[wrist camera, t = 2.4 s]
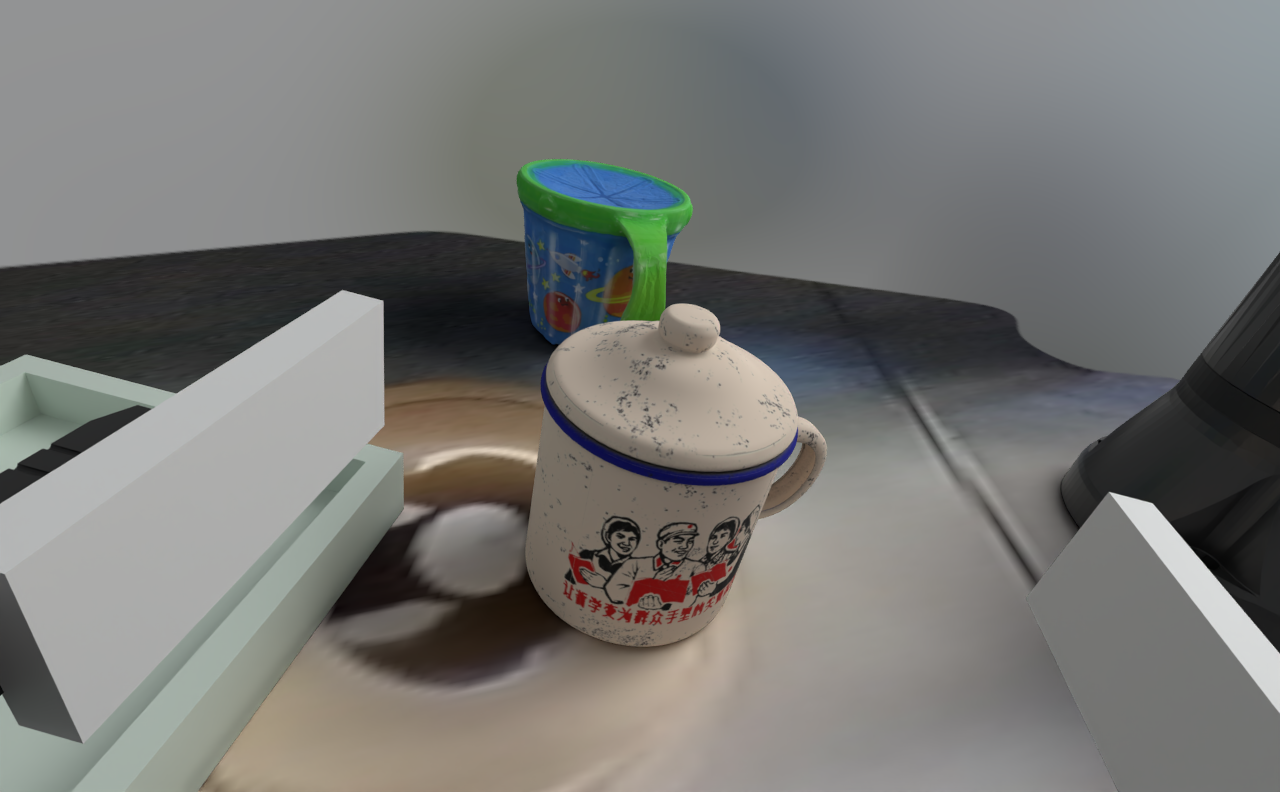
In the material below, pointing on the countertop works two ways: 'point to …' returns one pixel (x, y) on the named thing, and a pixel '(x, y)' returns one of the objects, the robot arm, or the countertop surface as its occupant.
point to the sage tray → (223, 639)
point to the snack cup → (596, 243)
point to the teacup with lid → (657, 474)
